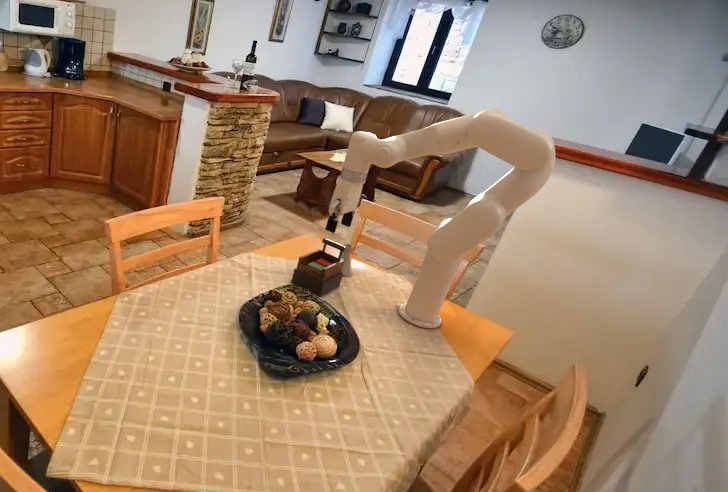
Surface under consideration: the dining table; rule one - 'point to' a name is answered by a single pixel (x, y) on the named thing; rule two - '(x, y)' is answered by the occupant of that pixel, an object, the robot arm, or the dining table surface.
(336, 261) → the basket
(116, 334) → the dining table surface
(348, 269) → the flask
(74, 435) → the dining table surface
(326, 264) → the terracotta packet
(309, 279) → the stand
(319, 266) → the block
